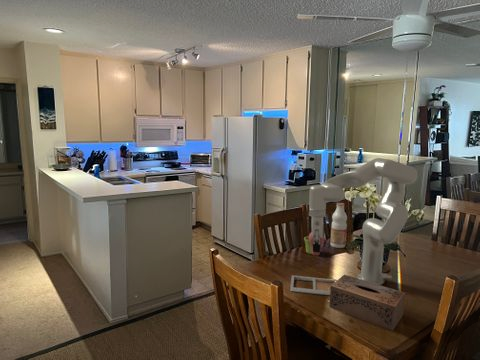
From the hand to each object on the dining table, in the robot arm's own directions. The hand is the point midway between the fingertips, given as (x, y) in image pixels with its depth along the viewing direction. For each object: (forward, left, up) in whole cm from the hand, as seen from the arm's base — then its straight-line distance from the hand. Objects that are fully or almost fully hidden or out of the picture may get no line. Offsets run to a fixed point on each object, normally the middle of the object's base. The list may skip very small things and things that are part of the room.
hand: (316, 248), depth 161 cm
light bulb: (0, 0, -3) cm, 3 cm away
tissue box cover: (-21, +17, -20) cm, 33 cm away
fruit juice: (-16, -62, -19) cm, 67 cm away
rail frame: (0, 0, -19) cm, 19 cm away
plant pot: (+1, -46, -19) cm, 50 cm away
